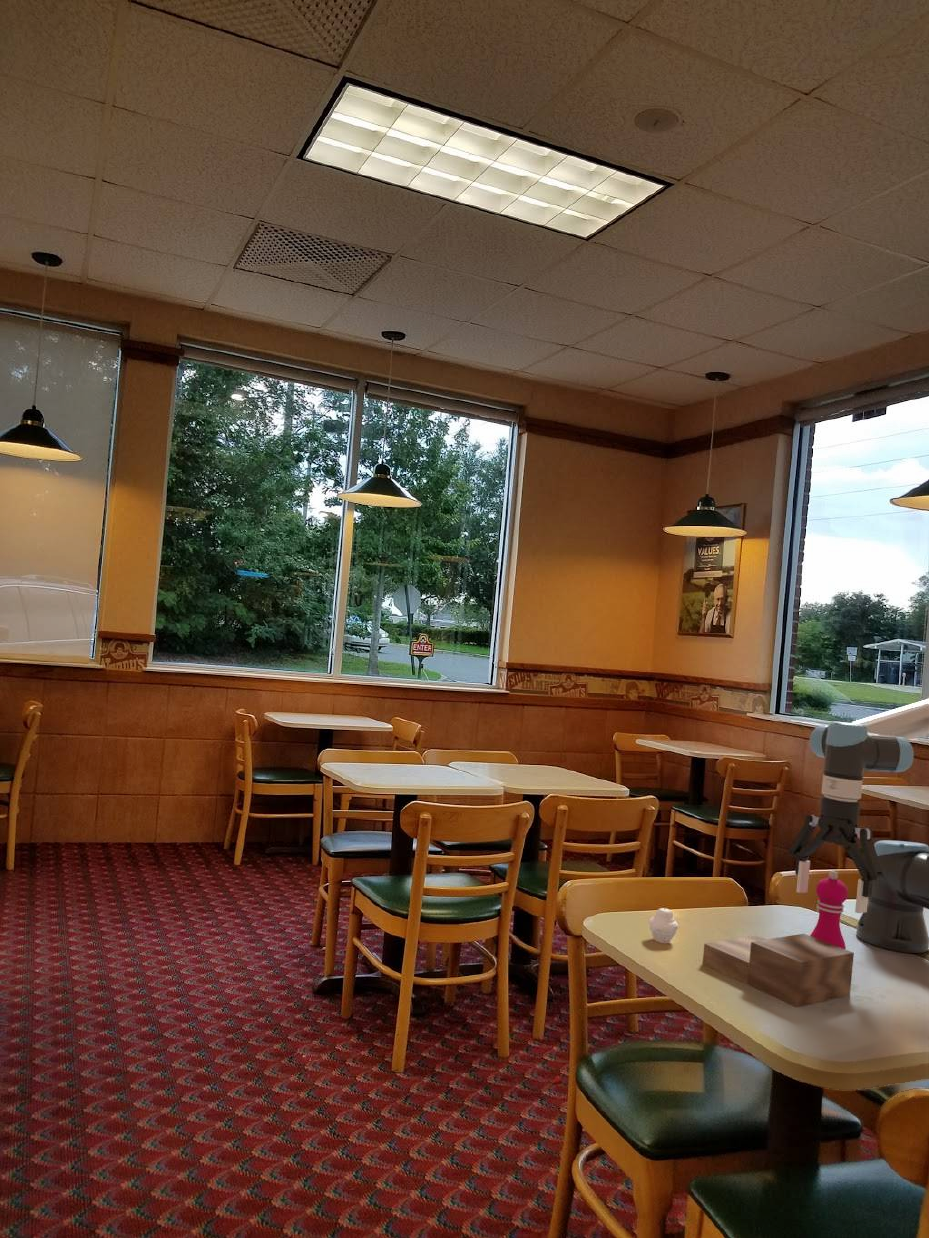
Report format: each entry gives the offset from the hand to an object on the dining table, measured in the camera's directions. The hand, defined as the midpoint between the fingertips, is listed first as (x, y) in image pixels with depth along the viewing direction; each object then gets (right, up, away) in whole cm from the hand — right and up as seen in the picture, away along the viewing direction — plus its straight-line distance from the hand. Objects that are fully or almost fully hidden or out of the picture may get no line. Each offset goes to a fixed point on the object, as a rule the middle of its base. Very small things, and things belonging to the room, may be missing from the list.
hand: (830, 902), depth 187 cm
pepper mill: (-1, -14, 0) cm, 14 cm away
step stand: (-15, -12, -9) cm, 21 cm away
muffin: (-33, -11, +8) cm, 35 cm away
